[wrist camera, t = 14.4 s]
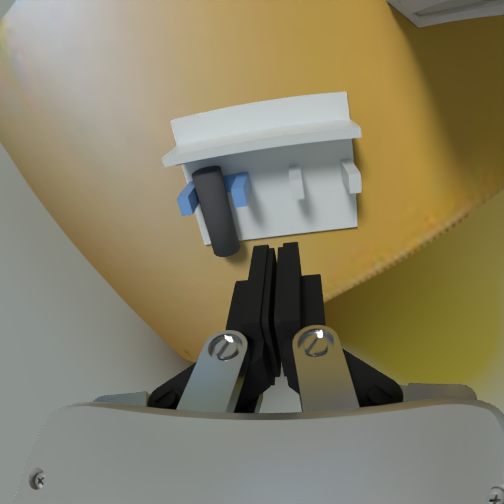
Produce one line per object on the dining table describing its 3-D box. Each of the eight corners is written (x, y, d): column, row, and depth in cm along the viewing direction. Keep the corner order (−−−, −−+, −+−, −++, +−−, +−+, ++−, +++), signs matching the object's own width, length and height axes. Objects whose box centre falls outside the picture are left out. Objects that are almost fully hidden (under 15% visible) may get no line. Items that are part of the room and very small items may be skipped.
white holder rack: (171, 119, 33) (153, 129, 28) (345, 91, 30) (357, 95, 25) (205, 242, 41) (195, 267, 36) (356, 224, 38) (366, 248, 33)
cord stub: (203, 165, 35) (185, 177, 33) (226, 165, 34) (209, 176, 31) (223, 240, 41) (208, 254, 38) (244, 243, 39) (230, 258, 37)
